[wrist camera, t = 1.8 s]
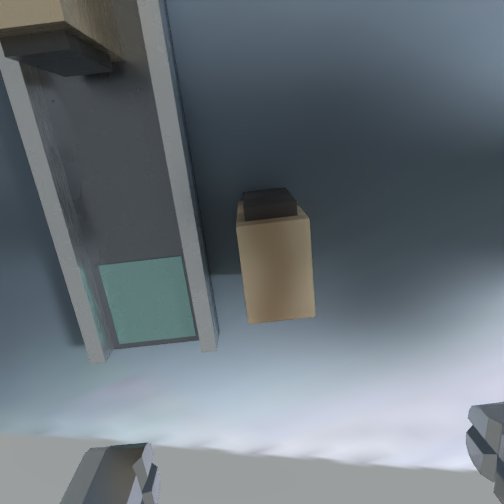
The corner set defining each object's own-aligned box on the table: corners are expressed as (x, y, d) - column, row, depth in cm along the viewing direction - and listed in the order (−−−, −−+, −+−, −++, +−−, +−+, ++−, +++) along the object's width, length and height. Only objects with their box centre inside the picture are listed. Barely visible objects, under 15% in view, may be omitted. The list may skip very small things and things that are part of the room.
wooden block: (289, 184, 26) (308, 203, 18) (296, 268, 28) (315, 316, 21) (236, 190, 26) (233, 212, 18) (247, 273, 28) (248, 324, 21)
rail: (154, -72, 21) (91, -216, 12) (219, 331, 30) (209, 409, 21) (-9, -51, 21) (-181, -179, 13) (104, 344, 30) (48, 426, 21)
